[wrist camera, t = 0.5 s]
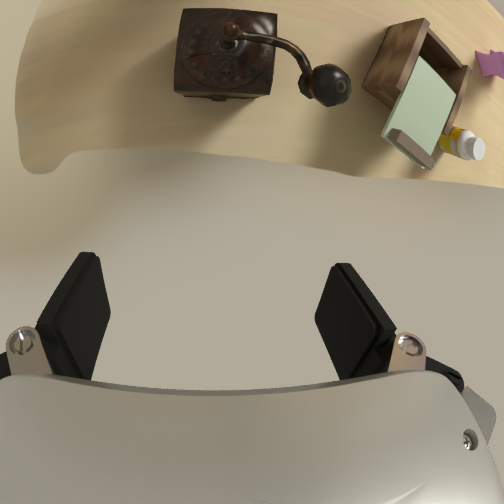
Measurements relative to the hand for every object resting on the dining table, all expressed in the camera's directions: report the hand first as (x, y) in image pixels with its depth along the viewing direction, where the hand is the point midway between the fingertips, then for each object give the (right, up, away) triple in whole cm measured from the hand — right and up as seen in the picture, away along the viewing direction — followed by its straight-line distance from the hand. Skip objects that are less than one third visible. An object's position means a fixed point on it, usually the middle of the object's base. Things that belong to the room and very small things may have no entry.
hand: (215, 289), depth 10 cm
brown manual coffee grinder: (0, +26, +19) cm, 33 cm away
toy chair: (+53, +43, +18) cm, 71 cm away
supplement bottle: (+37, +23, +27) cm, 51 cm away
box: (+26, +30, +21) cm, 45 cm away
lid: (+24, +20, +17) cm, 36 cm away
